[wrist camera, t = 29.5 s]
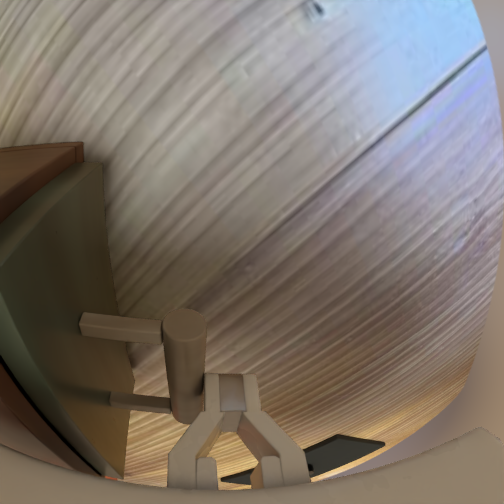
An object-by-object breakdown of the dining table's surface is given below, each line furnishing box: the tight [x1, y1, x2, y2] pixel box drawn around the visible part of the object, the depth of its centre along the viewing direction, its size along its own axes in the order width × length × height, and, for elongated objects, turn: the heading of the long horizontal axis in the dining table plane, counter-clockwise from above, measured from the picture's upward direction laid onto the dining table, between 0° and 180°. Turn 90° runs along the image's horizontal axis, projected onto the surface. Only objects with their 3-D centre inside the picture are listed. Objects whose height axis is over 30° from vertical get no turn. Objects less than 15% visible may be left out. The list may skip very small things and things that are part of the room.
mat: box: [221, 435, 385, 485], centre depth 33 cm, size 20×14×1 cm
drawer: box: [0, 162, 207, 479], centre depth 9 cm, size 18×13×7 cm
